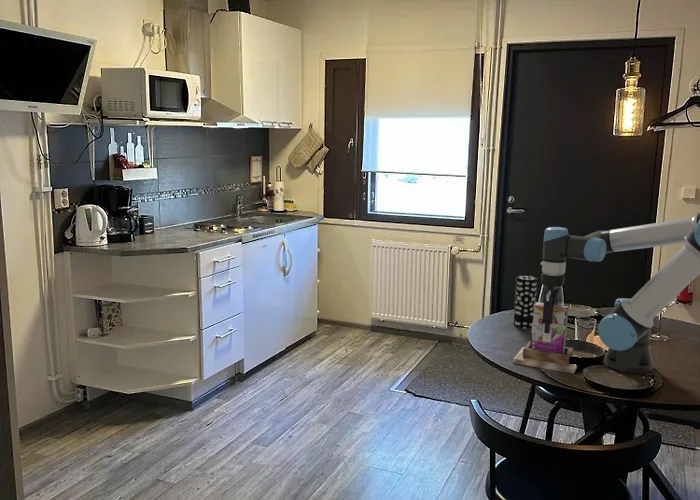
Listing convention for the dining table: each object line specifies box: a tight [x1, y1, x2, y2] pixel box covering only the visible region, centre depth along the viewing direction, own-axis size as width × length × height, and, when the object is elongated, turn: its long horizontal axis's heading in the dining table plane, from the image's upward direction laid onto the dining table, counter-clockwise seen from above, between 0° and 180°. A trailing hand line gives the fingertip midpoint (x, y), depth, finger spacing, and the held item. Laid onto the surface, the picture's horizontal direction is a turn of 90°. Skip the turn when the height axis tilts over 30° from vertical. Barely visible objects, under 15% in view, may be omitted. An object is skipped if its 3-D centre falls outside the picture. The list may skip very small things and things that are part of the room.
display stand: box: [512, 340, 578, 375], centre depth 222 cm, size 20×14×5 cm
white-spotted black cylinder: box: [513, 275, 538, 330], centre depth 261 cm, size 8×8×20 cm
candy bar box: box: [530, 301, 569, 354], centre depth 220 cm, size 11×5×16 cm, turn 64°
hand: (548, 339), depth 221 cm, fingers closed on candy bar box, 5 cm apart
